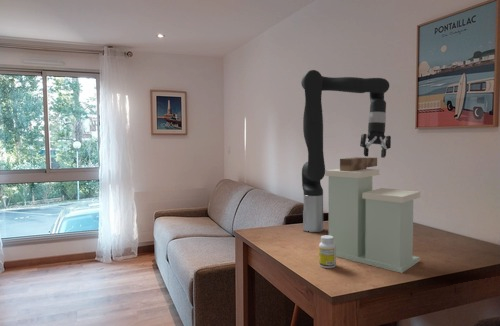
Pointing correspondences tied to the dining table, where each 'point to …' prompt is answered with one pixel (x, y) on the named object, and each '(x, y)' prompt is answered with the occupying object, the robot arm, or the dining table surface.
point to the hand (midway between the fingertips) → (374, 157)
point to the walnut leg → (357, 163)
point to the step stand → (371, 220)
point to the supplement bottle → (327, 252)
